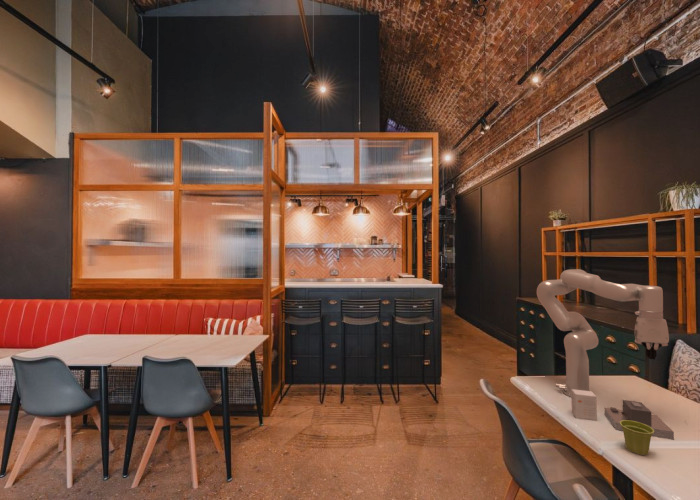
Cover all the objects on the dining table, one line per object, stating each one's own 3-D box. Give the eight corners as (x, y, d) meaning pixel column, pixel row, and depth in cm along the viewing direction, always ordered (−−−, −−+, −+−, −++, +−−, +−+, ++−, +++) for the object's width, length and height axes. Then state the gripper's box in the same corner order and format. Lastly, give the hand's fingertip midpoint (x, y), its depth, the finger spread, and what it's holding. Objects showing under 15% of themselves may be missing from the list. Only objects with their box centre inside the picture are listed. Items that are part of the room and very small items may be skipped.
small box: (592, 415, 145) (592, 391, 145) (597, 421, 139) (597, 396, 139) (571, 412, 147) (571, 388, 147) (575, 418, 142) (575, 393, 142)
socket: (615, 429, 132) (615, 420, 132) (604, 414, 145) (604, 406, 145) (673, 439, 126) (673, 430, 126) (656, 422, 138) (656, 413, 138)
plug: (631, 428, 132) (631, 407, 133) (622, 418, 141) (622, 398, 141) (651, 432, 130) (651, 410, 130) (641, 421, 138) (641, 400, 139)
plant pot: (613, 443, 123) (613, 420, 123) (636, 442, 124) (636, 419, 124) (637, 459, 114) (637, 434, 114) (661, 457, 115) (661, 432, 115)
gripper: (632, 315, 138) (632, 358, 138) (678, 318, 132) (678, 363, 132) (625, 312, 145) (625, 353, 145) (669, 314, 139) (669, 357, 139)
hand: (651, 358), depth 138 cm, fingers closed
